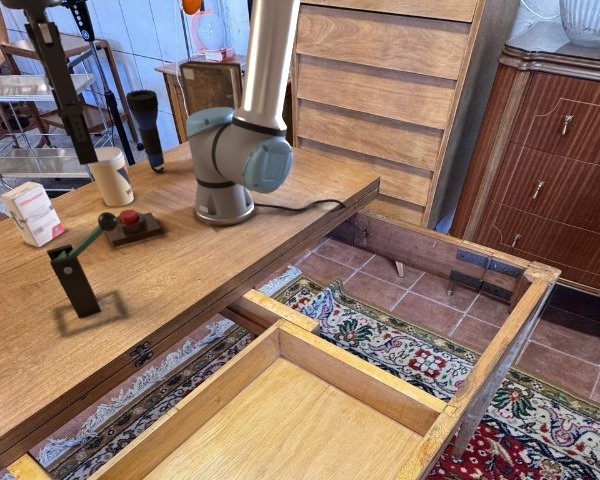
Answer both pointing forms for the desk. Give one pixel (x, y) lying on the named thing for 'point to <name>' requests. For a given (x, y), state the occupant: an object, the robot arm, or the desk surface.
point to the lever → (94, 234)
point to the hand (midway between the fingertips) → (82, 148)
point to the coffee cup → (112, 176)
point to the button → (128, 216)
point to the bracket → (74, 282)
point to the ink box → (33, 213)
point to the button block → (135, 230)
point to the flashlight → (147, 124)
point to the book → (211, 85)
